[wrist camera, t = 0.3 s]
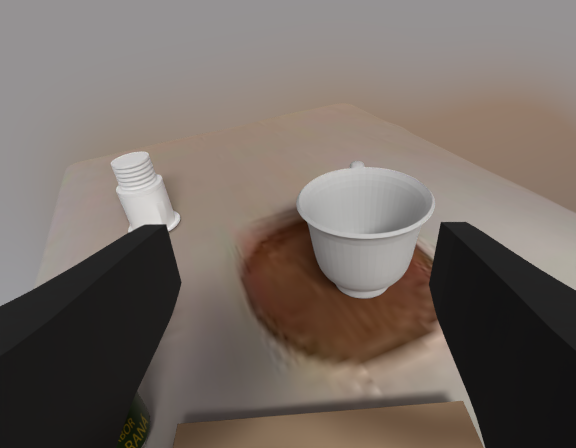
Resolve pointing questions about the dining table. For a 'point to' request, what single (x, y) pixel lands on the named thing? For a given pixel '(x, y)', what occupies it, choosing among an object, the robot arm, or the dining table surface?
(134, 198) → the downlight
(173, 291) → the robot arm
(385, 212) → the teacup
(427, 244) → the dining table surface
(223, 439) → the board
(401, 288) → the dining table surface
